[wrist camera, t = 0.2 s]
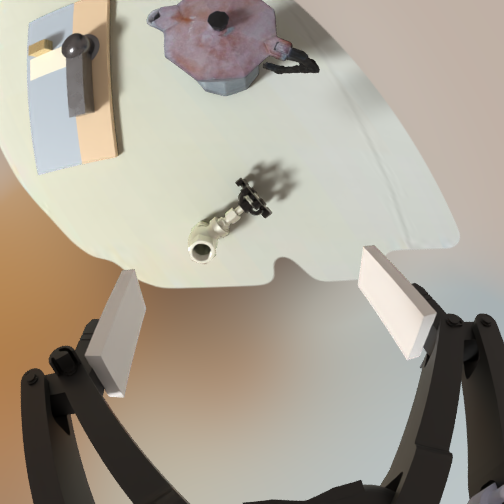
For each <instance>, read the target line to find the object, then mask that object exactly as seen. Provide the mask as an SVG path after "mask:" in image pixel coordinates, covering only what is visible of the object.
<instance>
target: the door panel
mask: <svg viewBox="0 0 504 504" xmlns="http://www.w3.org/2000/svg"><path fill="white" fill-rule="evenodd" d="M109 29H110V0H81V1H78V2H75V3H73V4H70V5H68V6H65V7H63V8H60V9H58V10H55V11H53V12H51V13H49V14H46V15H44V16H42V17H40V18H38V19H36V20H34V21H32V22H30V23H29V29H28V47H27V83H28V103H29V115H30V125H31V133H32V141H33V148H34V155H35V161H36V166H37V172H38V175H41V174H44V173H48V172H52V171H56V170H60V169H64V168H68V167H72V166H76V165H81V164H85V163H90V162H95V161H99V160H104V159H109V158H115V157H117V156H118V149H117V141H116V133H115V124H114V114H113V103H112V90H111V74H110V39H109ZM74 33H80V34H82V35H84V36H86V37H89V38H91V39H92V40H93V41H94V43H95V49H94V51H93V53H92V55H91V57H92V82H93V97H94V109H95V112H94V113H90V114H87V115H83V116H79V117H71V118H69V109H68V97H67V79H66V57H64V56H63V54H62V51H61V48H62V44H63V42H64V41H65V39H66V38H67V37H68V36H70V35H72V34H74ZM43 39H47V40H50V41H53V50H52V51H49V52H47V53H45V54H42V55H40V56H38V57H34V56H28V49H29V46H30V45H32V44H34V43H36V42H39V41H41V40H43Z"/></svg>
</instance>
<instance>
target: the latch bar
mask: <svg viewBox="0 0 504 504" xmlns="http://www.w3.org/2000/svg"><path fill="white" fill-rule="evenodd" d="M94 49H95V43H94V41H93V40H92V39H91V38H89V37H86V36H84V35H82V34H80V33H74V34H72V35H70V36H68V37H67V38H66V39H65V41H64V42H63V44H62V48H61V51H62V54H63V56H64V57H66V79H67V97H68V109H69V118H71V117H79V116H83V115H87V114H90V113H94V112H95V109H94V97H93V82H92V57H91V55H92V53H93V51H94Z"/></svg>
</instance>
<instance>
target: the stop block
mask: <svg viewBox="0 0 504 504" xmlns="http://www.w3.org/2000/svg"><path fill="white" fill-rule="evenodd" d="M52 50H53V41H50V40H47V39H43V40H41V41H39V42H36V43H34V44H32V45H30V46H29V49H28V56H34V57H38V56H40V55H42V54H45V53H47V52H49V51H52Z"/></svg>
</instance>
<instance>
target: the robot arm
mask: <svg viewBox="0 0 504 504" xmlns="http://www.w3.org/2000/svg"><path fill="white" fill-rule="evenodd" d="M358 287H359V288H360V290H361V291H362V292H363V294H364V295H365V297H366V298H367V300H368V301H369V303H370V304H371V305H372V307H373V308H374V310H375V311H376V313H377V314H378V316H379V317H380V319H381V320H382V322H383V323H384V325H385V326H386V328H387V330H388V331H389V333H390V334H391V335H392V337H393V339H394V340H395V342H396V343H397V345H398V347H399V348H400V350H401V351H402V353H403V354H404V356H405V358H406V359H407V360H410V359H413V358H416V357H419V356H420V354H421V351H422V349H423V348H424V349H425V350H426V352H427V354H426V356H425V358H424V361H423V362H422V365H421V367H420V368H422V367H423V368H422V372H421V376H420V380H419V384H418V388H417V392H416V395H415V399H414V402H413V406H412V409H411V412H410V416H409V419H408V422H407V425H406V428H405V431H404V434H403V436H402V440H401V442H400V445H399V448H398V450H397V453H396V455H395V458H394V460H393V463H392V465H391V468H390V470H389V472H388V474H387V475H386V477H385V478H384V480H383V482H382V483H381V485H380V486H376V485H363V484H362V481H361V480H359V481H356V482H353V483H349V484H345V485H342V486H338V487H335V488H332V489H330V490H328V491H326V492H324V493H322V494H320V495H318V496H316V497H313V498H311V499H309V500H306V501H289V500H266V501H257V502H246V503H243V504H439V503H440V500H441V497H442V494H443V491H444V488H445V485H446V481H447V478H448V474H449V471H450V467H451V464H452V458H453V455H452V453H450V452H449V447H450V443H451V439H452V434H453V429H454V424H455V419H456V413H457V406H458V401H459V393H460V385H461V382H462V388H463V395H464V404H465V414H466V425H467V442H468V490H469V498H470V500H469V502H468V503H467V504H504V342H503V339H502V337H501V334H500V332H499V329H498V326H497V324H496V321H495V320H494V319H493V318H492V317H491V316H489V315H487V314H478V315H477V316H476V318H475V321H474V322H464V321H463V320H462V319H461V318H460V317H459V316H457V315H454V314H446V313H445V312H444V310H443V309H442V308H441V307H440V306H439V305H438V304H437V303H436V301H435V300H433V299H432V297H431V296H430V295H428V293H427V292H426V291H425V289H424V288H423V287H421V286H419V285H418V284H416V283H413V284H411V283H410V282H409V281H408V280H407V279H406V278H405V277H404V276H403V274H402V273H401V272H400V271H399V270H398V269H397V268H396V267H395V266H394V265H393V264H392V263H391V262H390V261H389V260H388V259H387V258H386V257H385V256H384V255H383V254H382V253H381V252H380V250H379V249H378V248H377V247H376V246H375V245H373V246H363V252H362V260H361V267H360V274H359V281H358ZM145 311H146V306H145V303H144V300H143V297H142V293H141V290H140V287H139V283H138V280H137V276H136V272H135V269H132V270H122V272H121V274H120V276H119V278H118V280H117V282H116V285H115V287H114V289H113V291H112V293H111V295H110V298H109V299H108V302H107V304H106V306H105V308H104V311H103V313H102V315H101V317H100V319H92V320H91V321H90V322H89V323H88V324H87V325H86V327H85V329H84V331H83V335H82V336H81V338H80V341H79V342H78V345H77V347H76V350H74V349H73V348H72V347H70V346H62V347H59V348H57V349H56V350H54V351H53V352H52V354H51V355H50V357H49V364H50V365H51V367H52V368H53V370H54V371H55V373H53V374H48V375H44V373H43V372H42V371H41V370H40V369H37V368H35V369H31V370H29V371H27V372H26V373H25V374H24V375H23V377H22V380H21V417H22V431H23V442H24V452H25V460H26V467H27V473H28V479H29V484H30V489H31V494H32V499H33V503H34V504H95V502H94V499H93V496H92V493H91V491H90V488H89V485H88V482H87V478H86V475H85V472H84V469H83V465H82V462H81V458H80V455H79V450H78V447H77V443H76V438H75V434H74V430H73V425H72V420H71V415H70V414H76V416H77V417H78V419H79V421H80V423H81V425H82V427H83V429H84V431H85V432H86V434H87V436H88V438H89V439H90V441H91V443H92V444H93V446H94V448H95V449H96V451H97V452H98V454H99V456H100V457H101V459H102V461H103V462H104V464H105V465H106V467H107V468H108V470H109V471H110V473H111V474H112V475H113V477H114V478H115V480H116V481H117V482H118V484H119V485H120V487H121V488H122V489H123V491H124V492H125V493H126V494H127V496H128V497H129V499H130V500H131V501H132V502H133V504H190V503H189V502H188V501H187V500H186V499H185V498H184V497H183V496H182V495H181V494H180V493H179V492H178V491H177V490H176V489H175V488H174V487H173V486H172V485H171V484H170V483H169V482H168V480H167V479H165V477H164V476H163V475H162V474H161V473H160V472H159V470H158V469H157V468H156V467H155V466H154V465H153V464H152V462H151V461H150V460H149V459H148V458H147V457H146V455H145V454H144V453H143V451H142V450H141V449H140V448H139V446H138V445H137V444H136V443H135V442H134V440H133V439H132V437H131V436H130V435H129V433H128V432H127V431H126V430H125V428H124V427H123V425H122V424H121V423H120V421H119V420H118V418H117V417H116V416H115V414H114V413H113V411H112V410H111V408H110V407H109V405H108V404H107V402H106V401H105V399H104V398H103V393H104V389H105V391H106V392H107V394H108V395H109V397H124V395H125V391H126V386H127V381H128V377H129V373H130V369H131V364H132V360H133V356H134V352H135V348H136V344H137V340H138V336H139V332H140V329H141V325H142V321H143V318H144V314H145Z"/></svg>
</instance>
